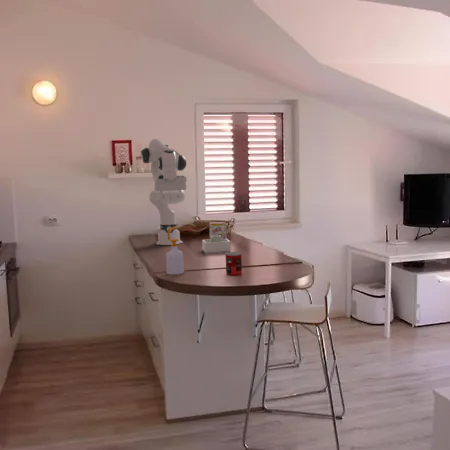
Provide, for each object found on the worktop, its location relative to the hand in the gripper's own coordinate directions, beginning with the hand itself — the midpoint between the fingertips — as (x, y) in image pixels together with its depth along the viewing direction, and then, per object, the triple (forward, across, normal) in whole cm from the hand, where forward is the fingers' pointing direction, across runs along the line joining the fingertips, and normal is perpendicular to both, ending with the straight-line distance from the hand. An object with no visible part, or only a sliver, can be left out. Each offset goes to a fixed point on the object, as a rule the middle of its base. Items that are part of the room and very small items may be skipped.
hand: (170, 197), depth 355 cm
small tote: (+34, -27, +8) cm, 44 cm away
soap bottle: (+35, +4, +68) cm, 77 cm away
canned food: (+36, -25, +81) cm, 92 cm away
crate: (+35, -27, +8) cm, 45 cm away
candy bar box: (+35, -31, -10) cm, 48 cm away
